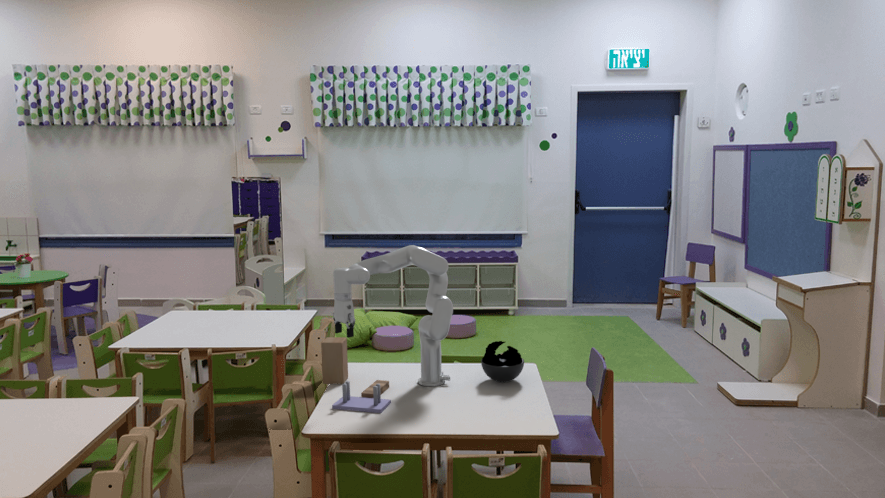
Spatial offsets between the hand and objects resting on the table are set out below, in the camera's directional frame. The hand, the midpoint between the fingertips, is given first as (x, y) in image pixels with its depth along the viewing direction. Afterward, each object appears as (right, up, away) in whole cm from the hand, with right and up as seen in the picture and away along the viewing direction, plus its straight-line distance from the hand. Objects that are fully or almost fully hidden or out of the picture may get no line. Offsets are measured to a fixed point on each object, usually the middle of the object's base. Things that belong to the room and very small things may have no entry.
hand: (344, 334), depth 302 cm
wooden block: (-8, -25, +26) cm, 37 cm away
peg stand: (+9, -29, -8) cm, 31 cm away
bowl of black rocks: (+71, -24, +21) cm, 78 cm away
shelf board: (+13, -27, +7) cm, 31 cm away
